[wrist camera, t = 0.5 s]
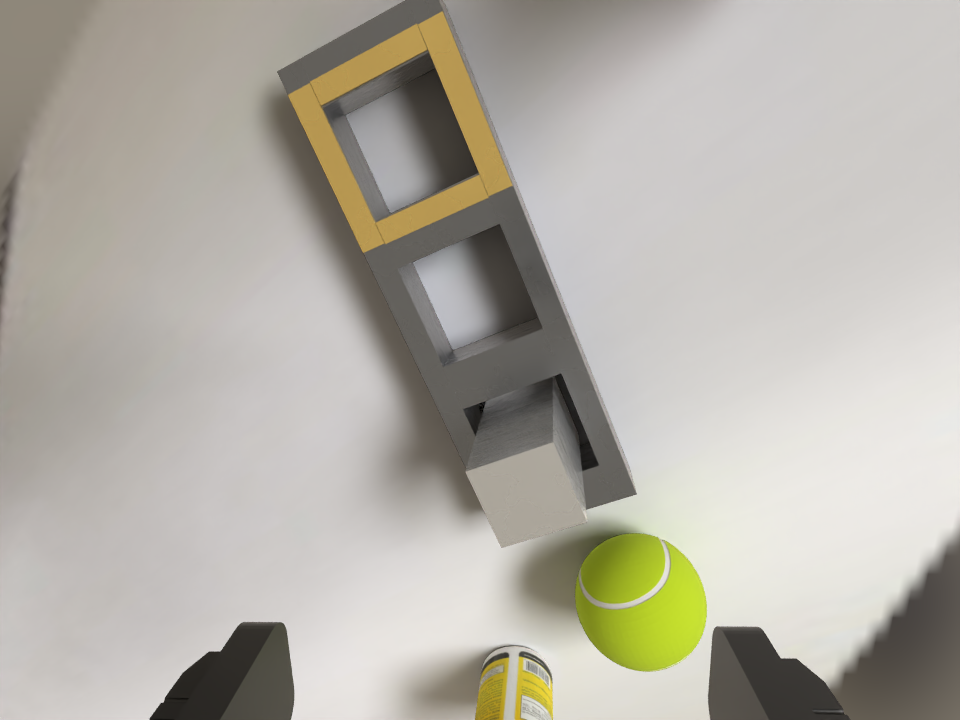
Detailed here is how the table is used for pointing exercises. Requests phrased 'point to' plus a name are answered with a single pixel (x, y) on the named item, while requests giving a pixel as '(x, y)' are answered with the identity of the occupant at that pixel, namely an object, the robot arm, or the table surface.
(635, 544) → the tennis ball
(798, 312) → the table surface
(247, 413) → the table surface
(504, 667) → the supplement bottle
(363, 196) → the grey long flat frame
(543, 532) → the brushed metal square block
